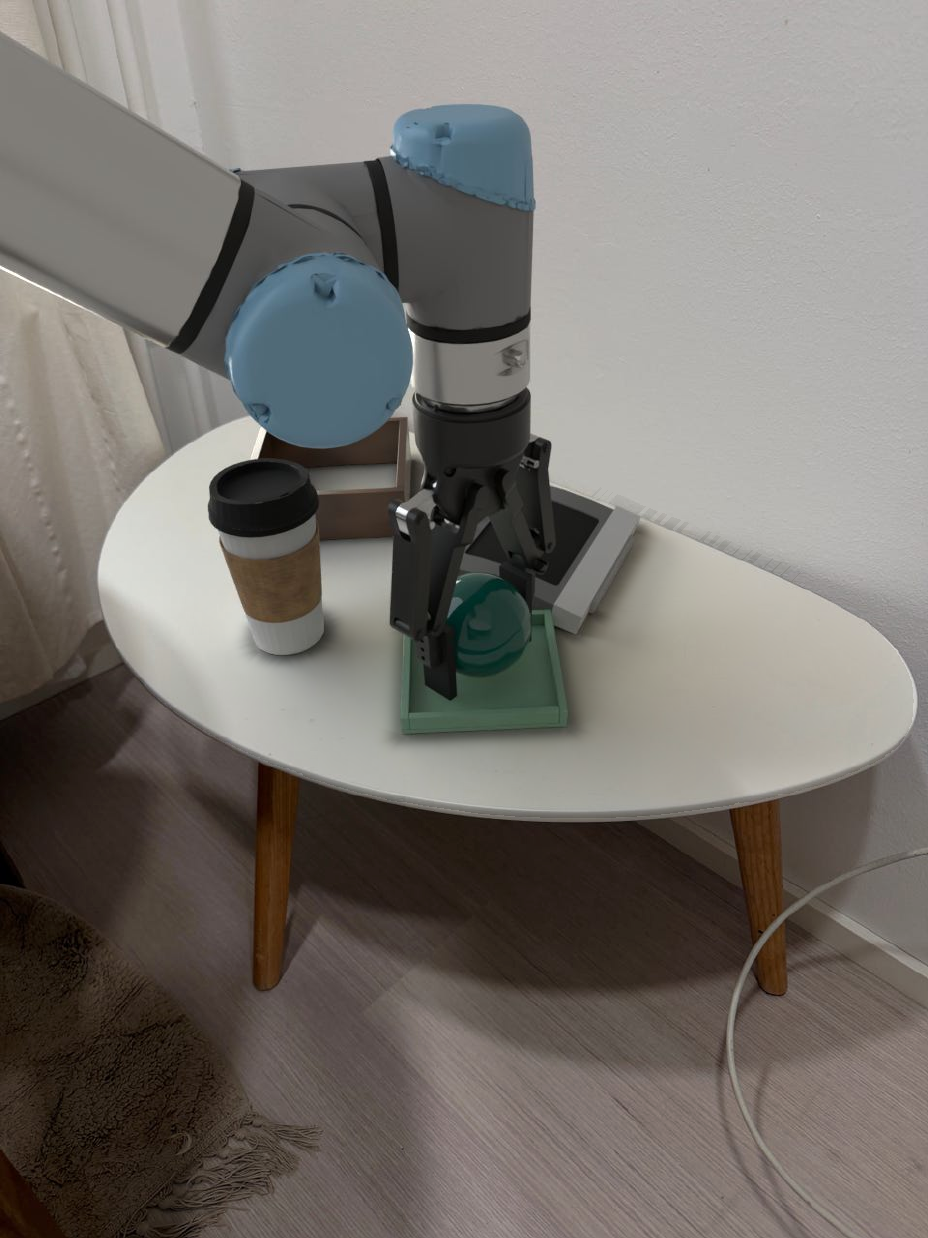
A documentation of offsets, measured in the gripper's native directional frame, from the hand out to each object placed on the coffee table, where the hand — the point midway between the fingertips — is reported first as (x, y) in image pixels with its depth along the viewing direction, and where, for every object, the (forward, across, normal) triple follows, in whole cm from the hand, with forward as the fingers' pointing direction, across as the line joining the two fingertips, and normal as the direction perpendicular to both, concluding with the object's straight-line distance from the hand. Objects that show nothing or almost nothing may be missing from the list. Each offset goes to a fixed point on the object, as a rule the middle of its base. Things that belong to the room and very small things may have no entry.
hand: (479, 662), depth 72 cm
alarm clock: (+1, +15, +7) cm, 17 cm away
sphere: (0, 0, 0) cm, 0 cm away
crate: (+1, +10, +30) cm, 32 cm away
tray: (+1, 0, 0) cm, 1 cm away
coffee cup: (+2, -7, +16) cm, 17 cm away
